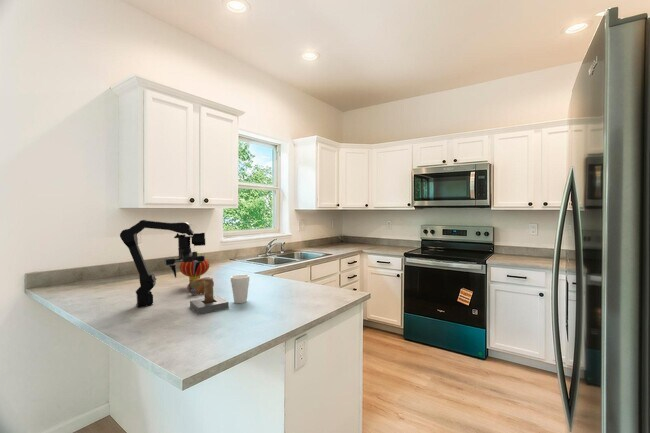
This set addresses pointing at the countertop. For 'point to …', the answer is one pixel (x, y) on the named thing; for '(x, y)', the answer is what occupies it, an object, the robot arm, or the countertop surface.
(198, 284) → the tin
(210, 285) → the peg
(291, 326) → the countertop surface
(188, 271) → the lantern
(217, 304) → the socket block
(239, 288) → the foam cup
